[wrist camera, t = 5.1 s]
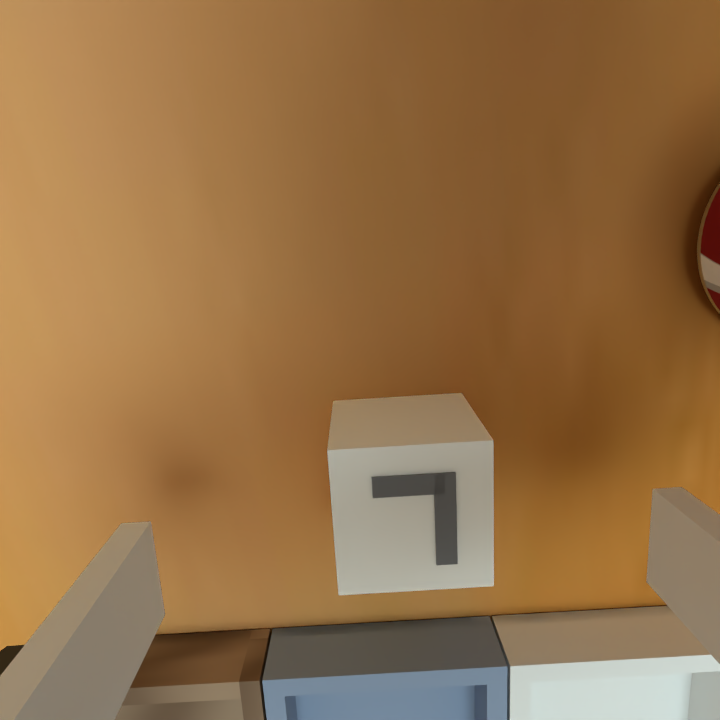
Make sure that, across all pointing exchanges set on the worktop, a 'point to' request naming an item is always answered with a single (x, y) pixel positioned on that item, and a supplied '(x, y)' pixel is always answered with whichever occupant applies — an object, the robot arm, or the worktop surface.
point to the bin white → (606, 666)
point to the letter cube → (411, 494)
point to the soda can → (710, 249)
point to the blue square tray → (387, 671)
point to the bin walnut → (200, 678)
